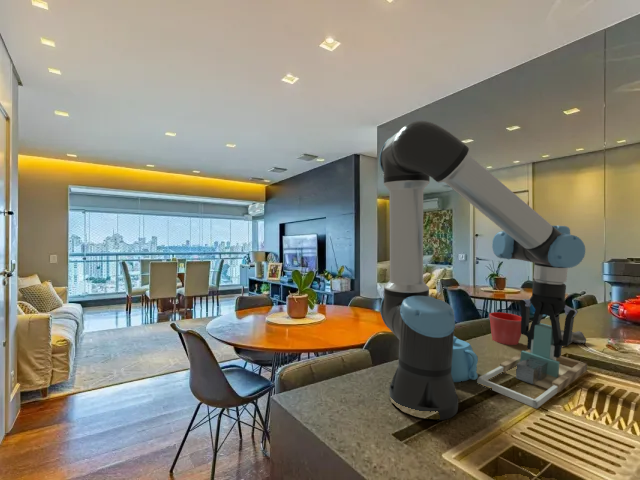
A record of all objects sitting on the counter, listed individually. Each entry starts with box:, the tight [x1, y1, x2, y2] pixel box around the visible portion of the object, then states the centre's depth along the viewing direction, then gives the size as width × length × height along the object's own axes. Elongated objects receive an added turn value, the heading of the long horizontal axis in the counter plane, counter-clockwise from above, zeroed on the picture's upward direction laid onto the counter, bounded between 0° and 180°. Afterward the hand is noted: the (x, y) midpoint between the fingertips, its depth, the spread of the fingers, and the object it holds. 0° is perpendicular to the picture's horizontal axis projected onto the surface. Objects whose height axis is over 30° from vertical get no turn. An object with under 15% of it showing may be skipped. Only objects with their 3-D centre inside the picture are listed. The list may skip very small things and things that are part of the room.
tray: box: [476, 365, 558, 409], centre depth 84 cm, size 12×14×2 cm
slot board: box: [499, 349, 588, 394], centre depth 95 cm, size 22×14×3 cm, turn 127°
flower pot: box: [488, 311, 522, 346], centre depth 118 cm, size 11×11×10 cm
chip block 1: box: [515, 360, 540, 385], centre depth 89 cm, size 4×4×4 cm
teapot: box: [451, 335, 479, 383], centre depth 93 cm, size 13×11×18 cm
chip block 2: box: [525, 357, 548, 381], centre depth 91 cm, size 4×4×4 cm
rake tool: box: [520, 322, 560, 378], centre depth 94 cm, size 5×9×12 cm, turn 38°
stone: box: [561, 329, 587, 345], centre depth 122 cm, size 15×10×4 cm, turn 104°
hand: (542, 364), depth 94 cm, fingers closed on rake tool, 4 cm apart
